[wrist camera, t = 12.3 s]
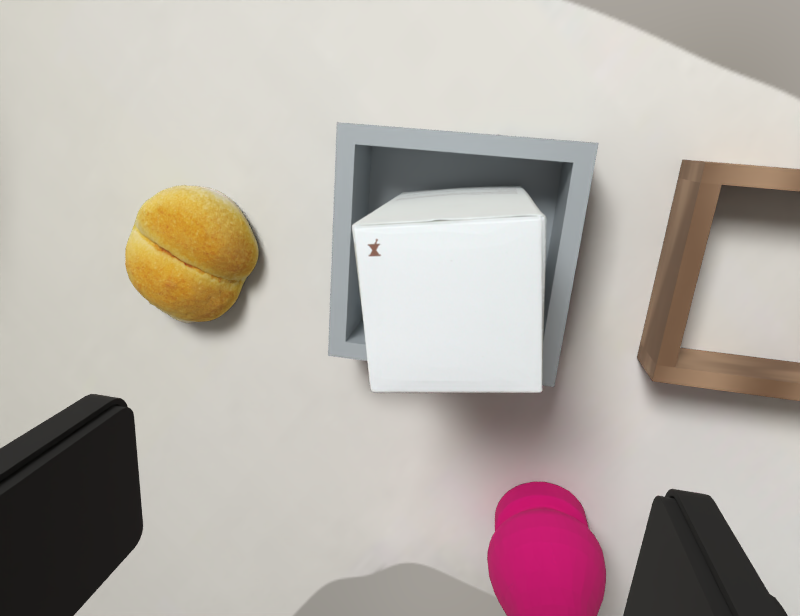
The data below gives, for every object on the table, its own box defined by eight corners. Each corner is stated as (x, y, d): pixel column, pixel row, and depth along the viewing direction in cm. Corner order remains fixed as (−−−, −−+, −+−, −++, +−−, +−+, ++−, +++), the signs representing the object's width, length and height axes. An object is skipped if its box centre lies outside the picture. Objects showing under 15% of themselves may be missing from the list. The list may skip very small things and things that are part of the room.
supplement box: (408, 307, 35) (362, 396, 23) (400, 189, 32) (346, 218, 21) (526, 306, 33) (544, 399, 21) (527, 182, 31) (547, 210, 19)
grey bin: (582, 142, 31) (598, 142, 26) (546, 353, 35) (554, 386, 30) (359, 124, 32) (337, 122, 28) (349, 327, 37) (328, 355, 32)
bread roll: (280, 225, 35) (255, 235, 32) (224, 331, 38) (195, 352, 35) (173, 155, 35) (135, 157, 31) (125, 267, 38) (84, 281, 34)
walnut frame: (921, 179, 29) (977, 184, 25) (846, 384, 32) (886, 412, 29) (682, 159, 30) (705, 162, 27) (637, 357, 34) (652, 381, 31)
